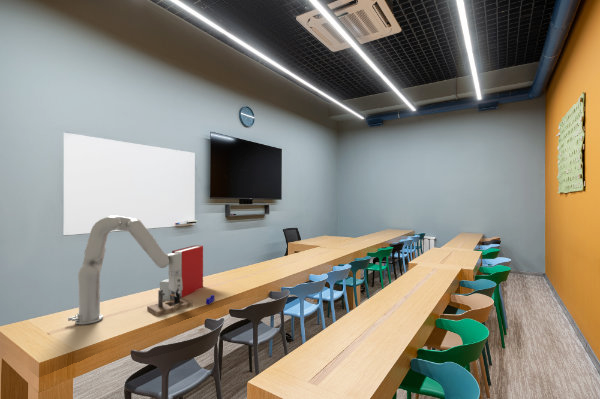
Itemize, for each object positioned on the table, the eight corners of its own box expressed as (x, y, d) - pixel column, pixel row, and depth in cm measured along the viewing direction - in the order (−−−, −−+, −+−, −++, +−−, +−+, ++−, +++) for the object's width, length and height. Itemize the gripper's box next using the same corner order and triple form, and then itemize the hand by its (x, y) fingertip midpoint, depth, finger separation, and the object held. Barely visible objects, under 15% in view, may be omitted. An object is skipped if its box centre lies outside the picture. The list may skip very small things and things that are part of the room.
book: (181, 297, 206) (182, 251, 206) (171, 296, 208) (172, 250, 208) (204, 286, 233) (204, 245, 233) (194, 285, 235) (195, 245, 235)
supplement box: (169, 301, 200) (169, 282, 200) (159, 300, 201) (159, 281, 201) (175, 297, 207) (175, 279, 207) (166, 296, 208) (166, 278, 208)
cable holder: (209, 300, 201) (209, 294, 201) (214, 301, 200) (214, 295, 200) (204, 304, 193) (204, 298, 193) (209, 305, 192) (209, 299, 192)
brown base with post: (156, 316, 173) (157, 294, 173) (147, 310, 183) (147, 289, 183) (192, 306, 190) (192, 286, 190) (181, 301, 199) (181, 282, 199)
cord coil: (180, 303, 189) (180, 290, 189) (173, 305, 185) (173, 292, 185) (177, 301, 192) (177, 289, 192) (169, 303, 188) (169, 290, 188)
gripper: (187, 273, 186) (187, 303, 185) (174, 269, 197) (174, 297, 197) (175, 276, 180) (175, 306, 180) (163, 271, 191) (163, 300, 191)
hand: (175, 301), depth 188 cm, fingers closed on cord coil, 4 cm apart
